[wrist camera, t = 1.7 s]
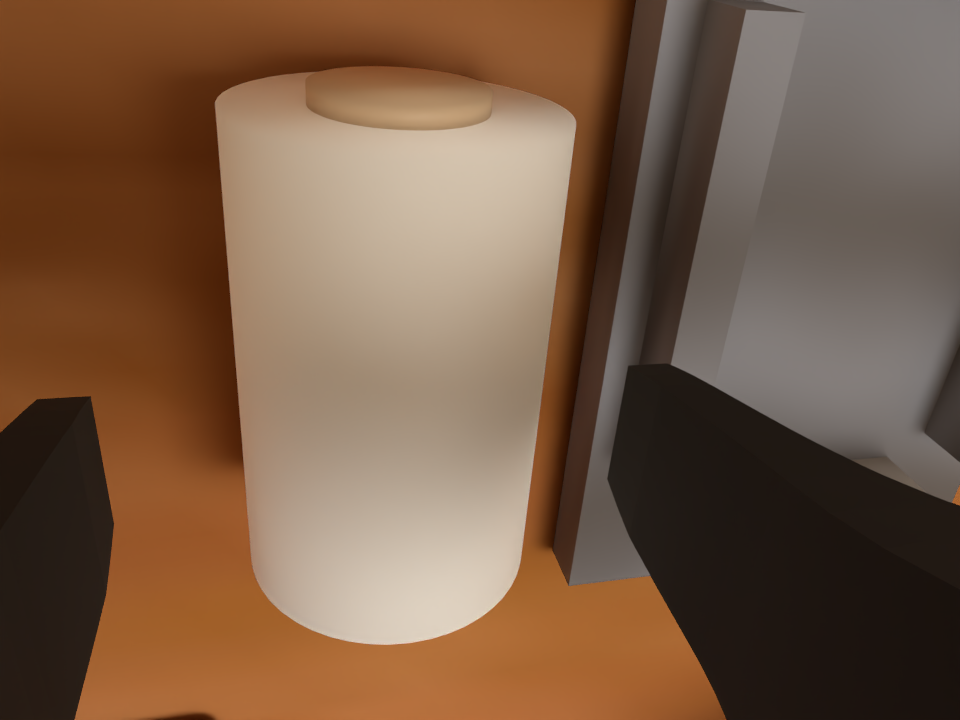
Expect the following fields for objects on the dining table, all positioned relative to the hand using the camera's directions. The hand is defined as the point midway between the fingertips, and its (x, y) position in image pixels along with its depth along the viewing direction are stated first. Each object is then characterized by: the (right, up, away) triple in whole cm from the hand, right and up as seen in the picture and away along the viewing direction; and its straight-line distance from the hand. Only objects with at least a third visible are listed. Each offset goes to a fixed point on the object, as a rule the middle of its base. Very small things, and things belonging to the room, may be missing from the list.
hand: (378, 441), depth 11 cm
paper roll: (-1, +2, +4) cm, 5 cm away
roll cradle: (+9, +4, +6) cm, 11 cm away
